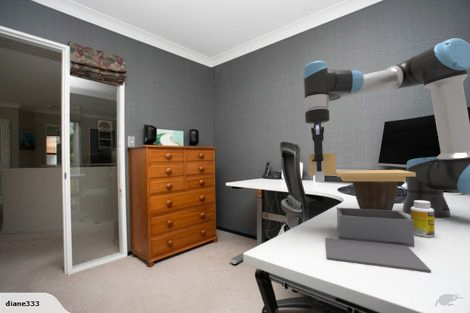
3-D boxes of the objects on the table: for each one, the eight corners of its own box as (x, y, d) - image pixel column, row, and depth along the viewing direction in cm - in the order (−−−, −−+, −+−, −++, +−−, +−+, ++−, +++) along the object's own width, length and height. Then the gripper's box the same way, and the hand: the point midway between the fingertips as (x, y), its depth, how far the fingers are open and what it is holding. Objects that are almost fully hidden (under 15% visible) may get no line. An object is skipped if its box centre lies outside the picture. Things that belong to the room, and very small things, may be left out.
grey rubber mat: (406, 247, 59) (406, 245, 59) (431, 272, 46) (430, 270, 46) (325, 239, 67) (325, 237, 67) (326, 259, 54) (326, 257, 54)
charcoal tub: (399, 232, 71) (398, 210, 71) (414, 246, 60) (413, 220, 60) (337, 227, 77) (336, 207, 77) (340, 239, 66) (339, 215, 66)
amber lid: (399, 177, 71) (398, 151, 72) (416, 182, 59) (414, 150, 59) (310, 177, 81) (309, 154, 81) (309, 181, 69) (307, 154, 69)
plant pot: (397, 229, 74) (396, 181, 74) (348, 222, 84) (347, 179, 84) (401, 219, 85) (400, 177, 85) (358, 214, 95) (356, 176, 95)
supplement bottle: (431, 239, 65) (430, 203, 65) (408, 234, 69) (407, 201, 70) (437, 235, 68) (436, 201, 68) (415, 230, 73) (414, 199, 73)
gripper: (306, 115, 83) (308, 178, 83) (303, 106, 68) (306, 183, 68) (328, 113, 80) (330, 178, 80) (330, 103, 65) (333, 183, 65)
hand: (319, 180), depth 74 cm, fingers closed on amber lid, 3 cm apart
